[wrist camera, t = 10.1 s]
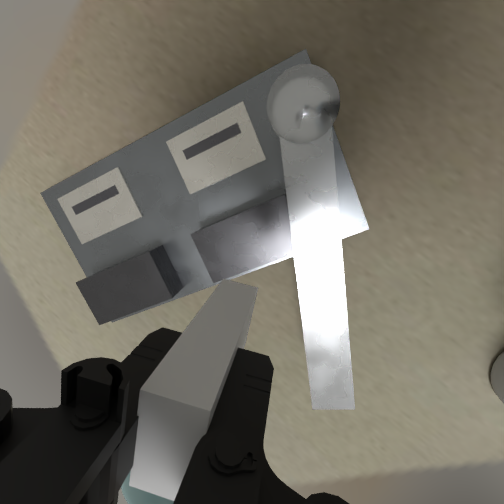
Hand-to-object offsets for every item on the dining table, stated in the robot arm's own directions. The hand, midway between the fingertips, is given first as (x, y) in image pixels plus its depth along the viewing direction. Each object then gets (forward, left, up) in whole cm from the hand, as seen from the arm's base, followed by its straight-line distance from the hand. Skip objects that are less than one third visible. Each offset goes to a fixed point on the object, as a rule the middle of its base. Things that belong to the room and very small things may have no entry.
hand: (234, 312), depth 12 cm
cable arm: (-4, +1, -10) cm, 11 cm away
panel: (+5, -5, -14) cm, 16 cm away
